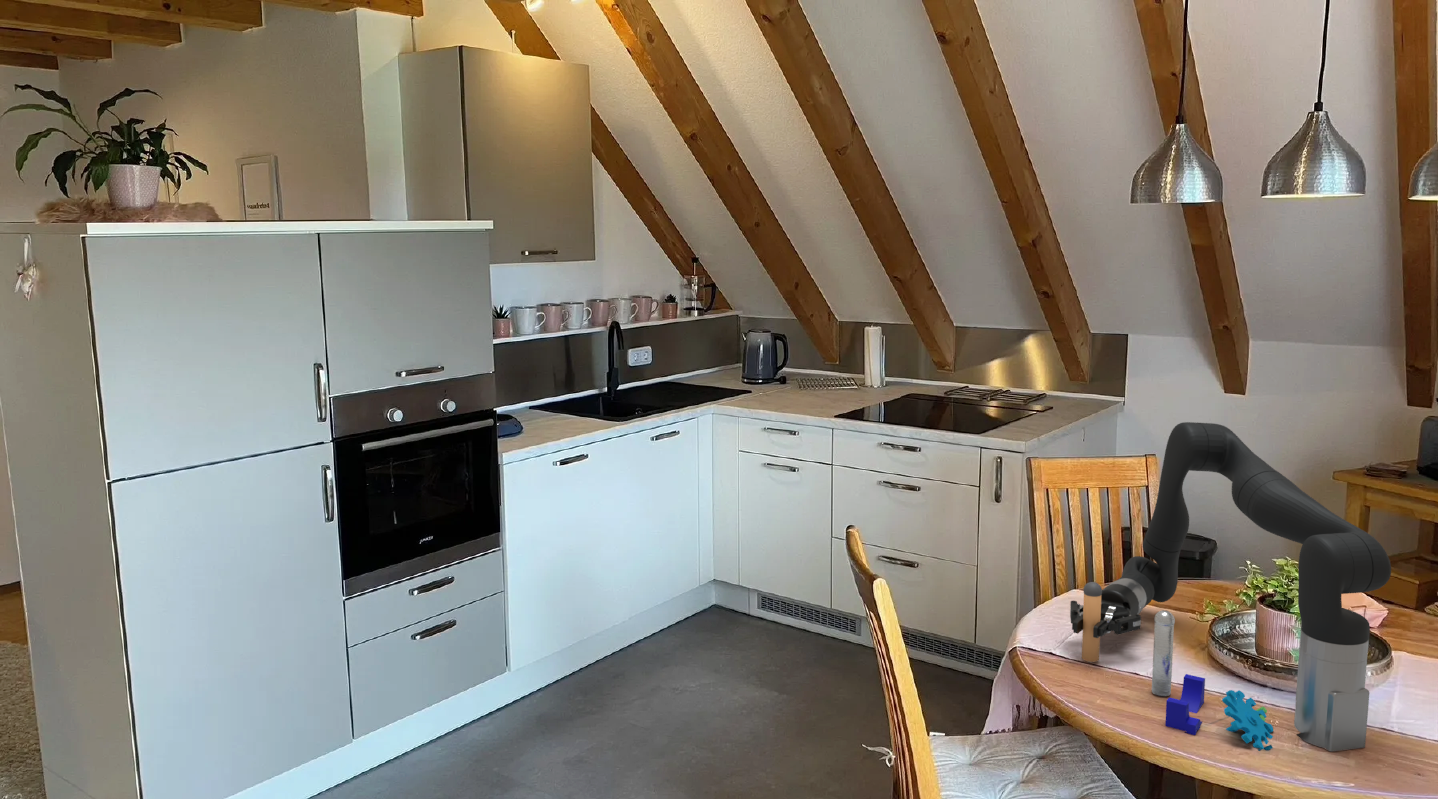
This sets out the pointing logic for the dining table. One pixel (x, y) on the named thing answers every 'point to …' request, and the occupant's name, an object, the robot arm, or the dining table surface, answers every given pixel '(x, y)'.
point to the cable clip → (1186, 705)
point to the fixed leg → (1163, 653)
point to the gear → (1248, 719)
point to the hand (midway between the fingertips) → (1085, 630)
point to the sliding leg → (1091, 621)
